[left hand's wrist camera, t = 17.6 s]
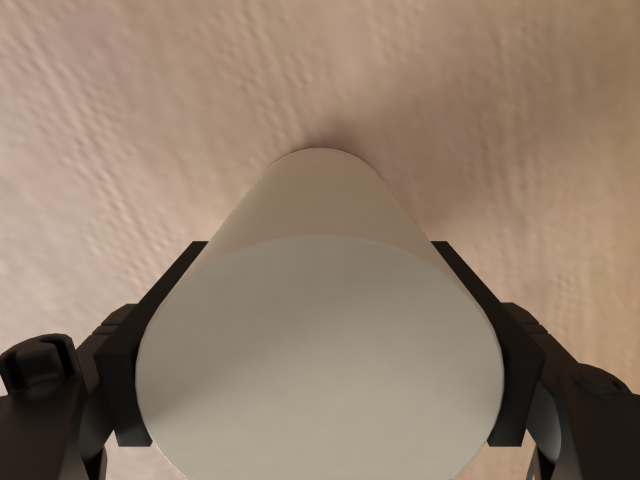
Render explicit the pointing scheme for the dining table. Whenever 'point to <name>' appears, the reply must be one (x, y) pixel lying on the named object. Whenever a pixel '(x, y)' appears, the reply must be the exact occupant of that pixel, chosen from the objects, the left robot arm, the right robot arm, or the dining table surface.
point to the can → (319, 340)
